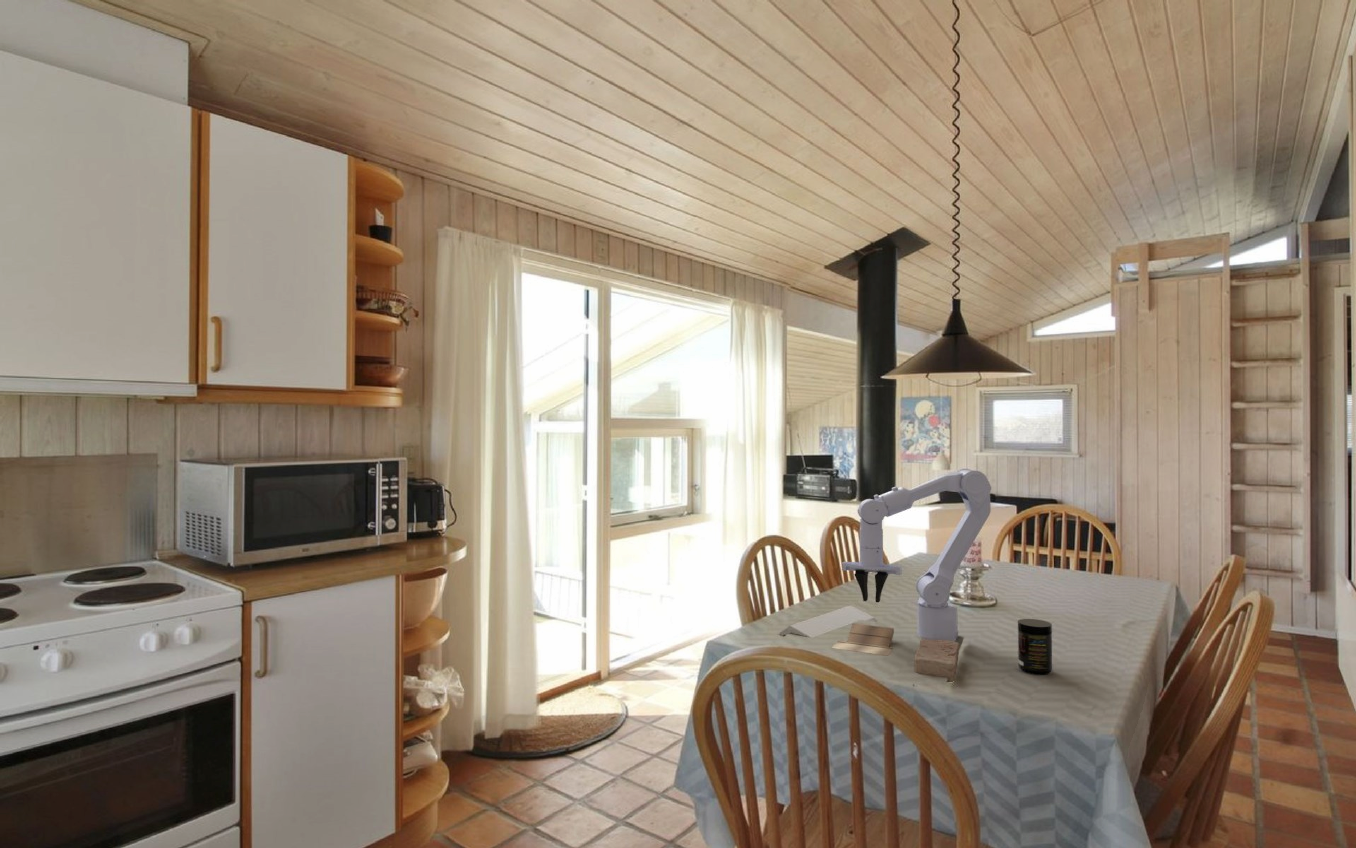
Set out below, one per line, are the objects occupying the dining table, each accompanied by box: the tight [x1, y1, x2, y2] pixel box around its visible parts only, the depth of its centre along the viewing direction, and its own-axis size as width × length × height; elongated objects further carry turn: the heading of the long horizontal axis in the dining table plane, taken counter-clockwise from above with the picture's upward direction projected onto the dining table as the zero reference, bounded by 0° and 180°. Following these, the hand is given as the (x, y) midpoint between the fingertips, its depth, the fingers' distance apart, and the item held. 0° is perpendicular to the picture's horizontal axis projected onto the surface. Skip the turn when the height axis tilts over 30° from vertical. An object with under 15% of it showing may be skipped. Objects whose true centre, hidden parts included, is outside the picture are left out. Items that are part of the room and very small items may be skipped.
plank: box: [846, 623, 895, 647], centre depth 176 cm, size 10×7×1 cm
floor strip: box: [831, 640, 894, 656], centre depth 170 cm, size 13×6×1 cm, turn 63°
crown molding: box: [778, 604, 878, 639], centre depth 192 cm, size 29×12×4 cm, turn 136°
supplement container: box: [1017, 618, 1053, 676], centre depth 157 cm, size 7×7×10 cm
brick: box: [913, 638, 960, 683], centre depth 159 cm, size 17×8×5 cm, turn 156°
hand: (871, 601), depth 182 cm, fingers open, 2 cm apart
